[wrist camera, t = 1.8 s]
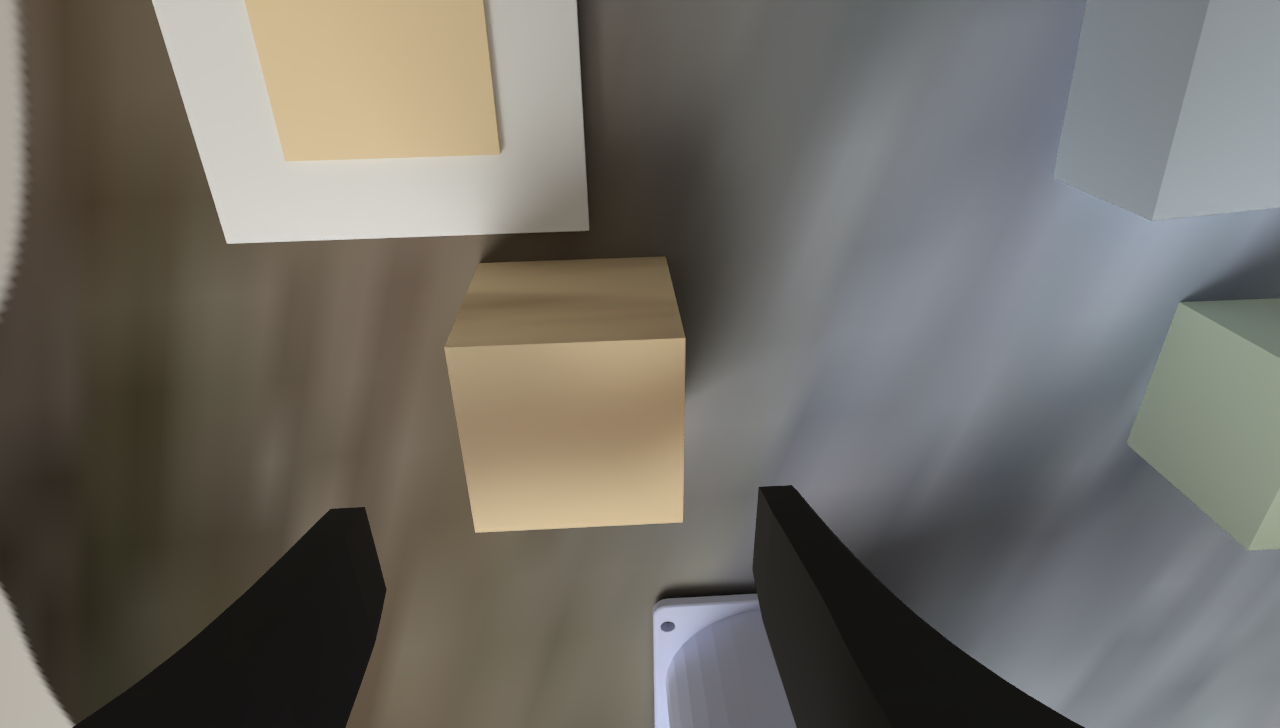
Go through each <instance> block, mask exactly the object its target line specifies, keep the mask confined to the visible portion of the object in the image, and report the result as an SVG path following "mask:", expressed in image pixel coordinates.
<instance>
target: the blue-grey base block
mask: <svg viewBox="0 0 1280 728" xmlns="http://www.w3.org/2000/svg"><path fill="white" fill-rule="evenodd" d="M1053 178H1055V179H1057V180H1059V181H1061V182H1064V183H1066V184H1068V185H1071V186H1073V187H1075V188H1078V189H1080V190H1082V191H1084V192H1087V193H1089V194H1091V195H1094V196H1096V197H1098V198H1100V199H1103V200H1105V201H1107V202H1110V203H1112V204H1114V205H1117V206H1119V207H1121V208H1123V209H1126V210H1128V211H1130V212H1133V213H1135V214H1137V215H1139V216H1142V217H1144V218H1146V219H1149V220H1151V221H1156V220H1165V219H1175V218H1184V217H1194V216H1203V215H1213V214H1223V213H1232V212H1242V211H1251V210H1261V209H1270V208H1280V0H1087V2H1086V8H1085V13H1084V18H1083V24H1082V29H1081V34H1080V39H1079V45H1078V50H1077V55H1076V60H1075V66H1074V71H1073V76H1072V81H1071V87H1070V92H1069V97H1068V102H1067V108H1066V113H1065V118H1064V124H1063V129H1062V134H1061V139H1060V145H1059V150H1058V155H1057V160H1056V166H1055V171H1054V176H1053Z"/></svg>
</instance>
